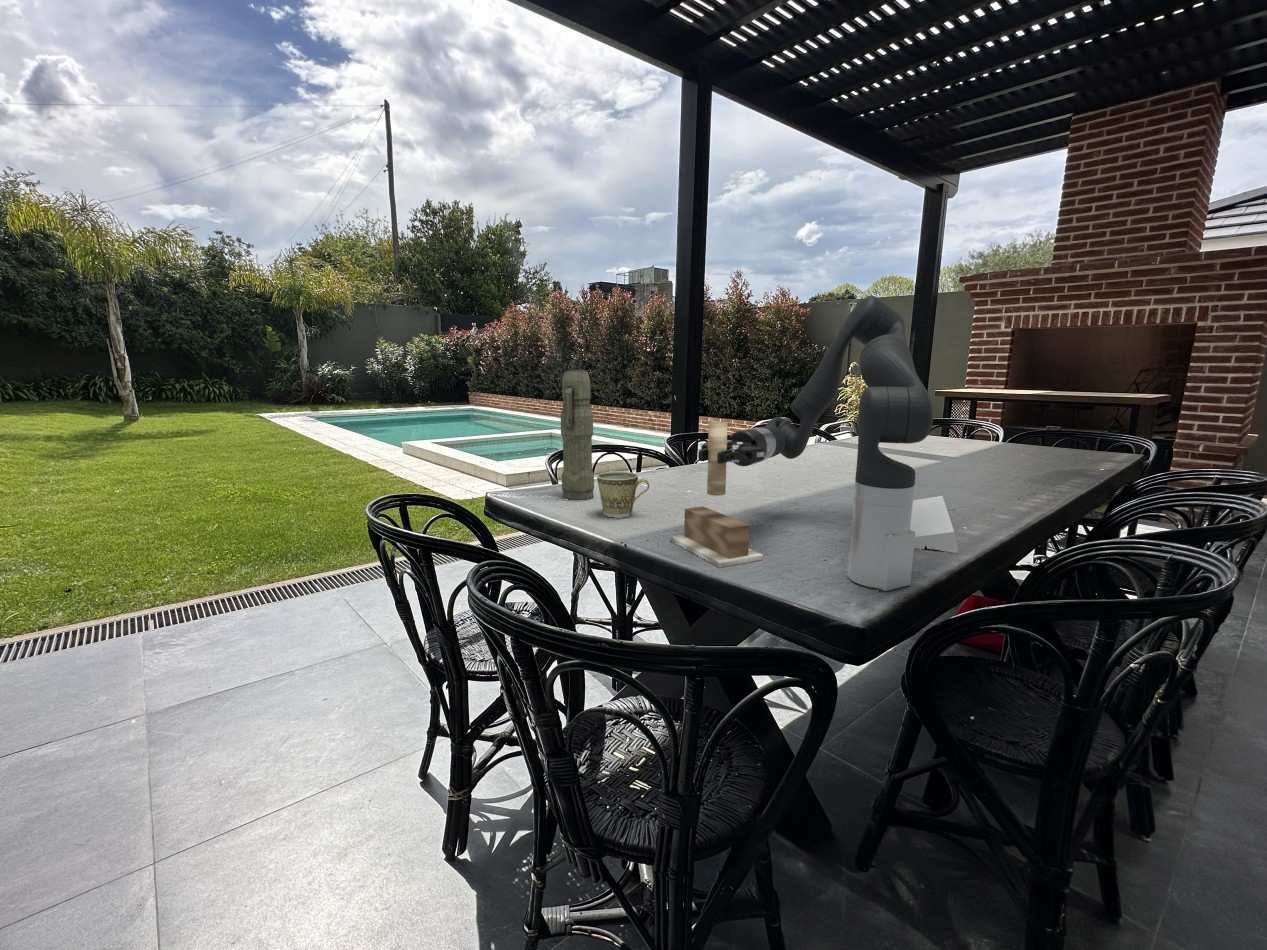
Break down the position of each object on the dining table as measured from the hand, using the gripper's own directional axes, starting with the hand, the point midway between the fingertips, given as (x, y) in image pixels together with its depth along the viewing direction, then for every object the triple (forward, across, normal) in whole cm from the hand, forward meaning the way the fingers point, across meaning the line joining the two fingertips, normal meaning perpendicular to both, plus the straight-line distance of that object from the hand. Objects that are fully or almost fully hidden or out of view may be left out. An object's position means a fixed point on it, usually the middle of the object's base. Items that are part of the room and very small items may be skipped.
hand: (709, 457), depth 111 cm
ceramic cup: (-11, -31, +20) cm, 38 cm away
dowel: (-3, 0, +8) cm, 8 cm away
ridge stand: (-3, 0, +19) cm, 19 cm away
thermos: (-18, -53, +20) cm, 60 cm away
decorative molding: (-46, +29, +20) cm, 58 cm away
